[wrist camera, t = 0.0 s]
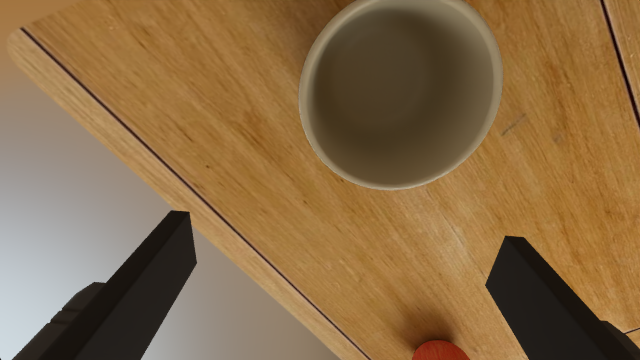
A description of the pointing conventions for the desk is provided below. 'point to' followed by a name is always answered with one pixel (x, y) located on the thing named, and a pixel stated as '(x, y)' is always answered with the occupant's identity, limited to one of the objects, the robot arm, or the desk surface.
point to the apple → (439, 351)
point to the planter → (400, 90)
